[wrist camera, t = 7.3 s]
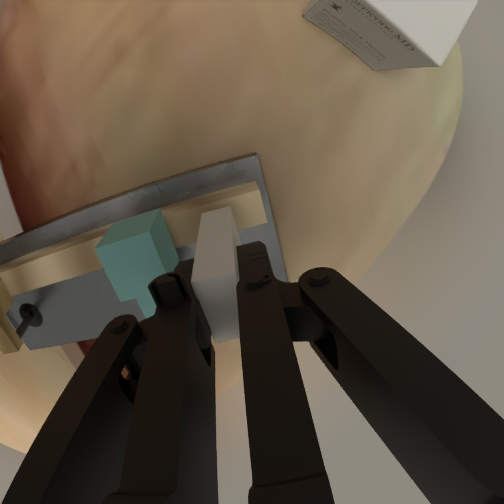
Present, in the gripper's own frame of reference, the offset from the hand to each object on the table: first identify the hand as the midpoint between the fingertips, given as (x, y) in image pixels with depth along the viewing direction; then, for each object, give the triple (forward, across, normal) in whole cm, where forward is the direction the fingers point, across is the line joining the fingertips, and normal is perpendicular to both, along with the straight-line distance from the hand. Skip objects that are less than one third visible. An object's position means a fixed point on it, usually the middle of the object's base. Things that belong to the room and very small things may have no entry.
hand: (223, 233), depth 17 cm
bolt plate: (+5, -9, -2) cm, 10 cm away
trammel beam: (+4, -9, -1) cm, 10 cm away
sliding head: (+3, -4, -1) cm, 6 cm away
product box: (+5, +12, +11) cm, 17 cm away
